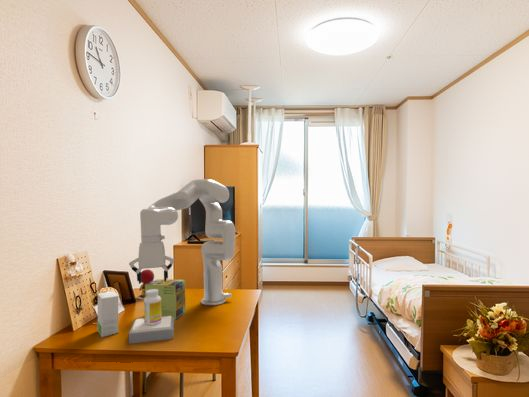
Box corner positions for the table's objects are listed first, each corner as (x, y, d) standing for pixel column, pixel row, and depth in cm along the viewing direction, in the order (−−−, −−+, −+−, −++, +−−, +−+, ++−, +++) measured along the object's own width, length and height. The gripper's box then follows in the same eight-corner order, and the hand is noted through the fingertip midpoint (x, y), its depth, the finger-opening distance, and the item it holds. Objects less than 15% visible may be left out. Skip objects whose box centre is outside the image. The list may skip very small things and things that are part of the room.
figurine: (158, 294, 187) (157, 268, 187) (148, 300, 177) (147, 272, 177) (144, 294, 189) (144, 267, 189) (134, 299, 179) (133, 271, 179)
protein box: (176, 320, 148) (175, 285, 148) (144, 318, 151) (144, 284, 151) (186, 312, 158) (185, 279, 158) (156, 310, 161) (156, 278, 161)
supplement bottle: (165, 320, 135) (164, 289, 135) (154, 326, 129) (154, 293, 129) (151, 318, 138) (150, 287, 138) (140, 324, 131) (139, 292, 131)
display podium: (174, 325, 142) (173, 314, 142) (173, 338, 128) (172, 327, 128) (134, 329, 138) (134, 318, 138) (128, 343, 125) (128, 331, 125)
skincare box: (97, 331, 137) (96, 293, 137) (114, 326, 141) (113, 290, 141) (101, 337, 131) (101, 298, 130) (119, 333, 135) (118, 294, 134)
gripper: (173, 236, 139) (175, 277, 139) (129, 239, 135) (131, 281, 135) (173, 239, 131) (174, 282, 132) (126, 242, 127) (128, 286, 128)
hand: (152, 281), depth 134 cm, fingers open, 9 cm apart
